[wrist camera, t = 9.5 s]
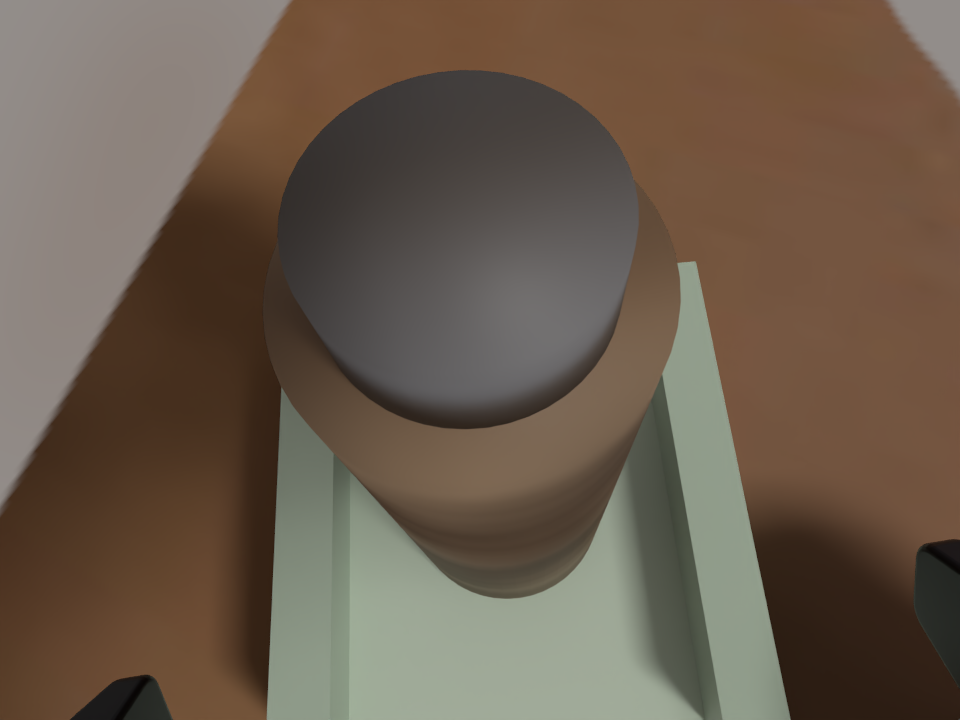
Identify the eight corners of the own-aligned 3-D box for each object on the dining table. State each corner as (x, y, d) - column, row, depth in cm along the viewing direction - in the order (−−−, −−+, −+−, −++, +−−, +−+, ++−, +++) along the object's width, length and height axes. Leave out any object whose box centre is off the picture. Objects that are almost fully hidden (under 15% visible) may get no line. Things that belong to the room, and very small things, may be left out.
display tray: (759, 738, 20) (795, 746, 17) (301, 768, 20) (264, 781, 17) (675, 295, 25) (692, 246, 22) (313, 327, 25) (286, 283, 22)
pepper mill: (631, 553, 21) (808, 324, 7) (454, 630, 20) (290, 538, 7) (552, 389, 23) (577, -31, 9) (389, 455, 22) (164, 116, 9)
